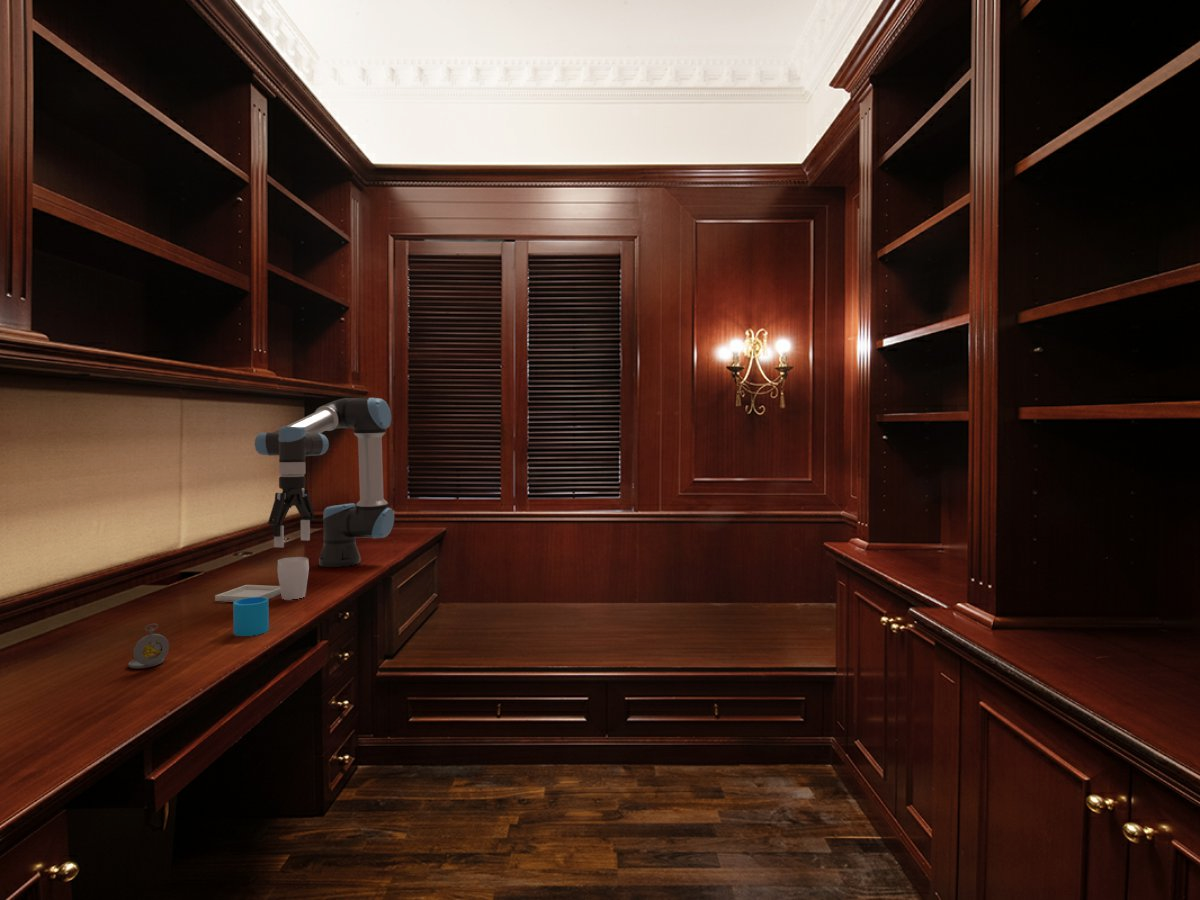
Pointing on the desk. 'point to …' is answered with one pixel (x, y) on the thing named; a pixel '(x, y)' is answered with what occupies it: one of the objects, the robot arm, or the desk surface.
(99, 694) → the desk surface
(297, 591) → the cup
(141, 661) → the pocket watch
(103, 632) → the desk surface
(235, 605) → the mug
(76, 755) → the desk surface
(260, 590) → the tray
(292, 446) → the robot arm
